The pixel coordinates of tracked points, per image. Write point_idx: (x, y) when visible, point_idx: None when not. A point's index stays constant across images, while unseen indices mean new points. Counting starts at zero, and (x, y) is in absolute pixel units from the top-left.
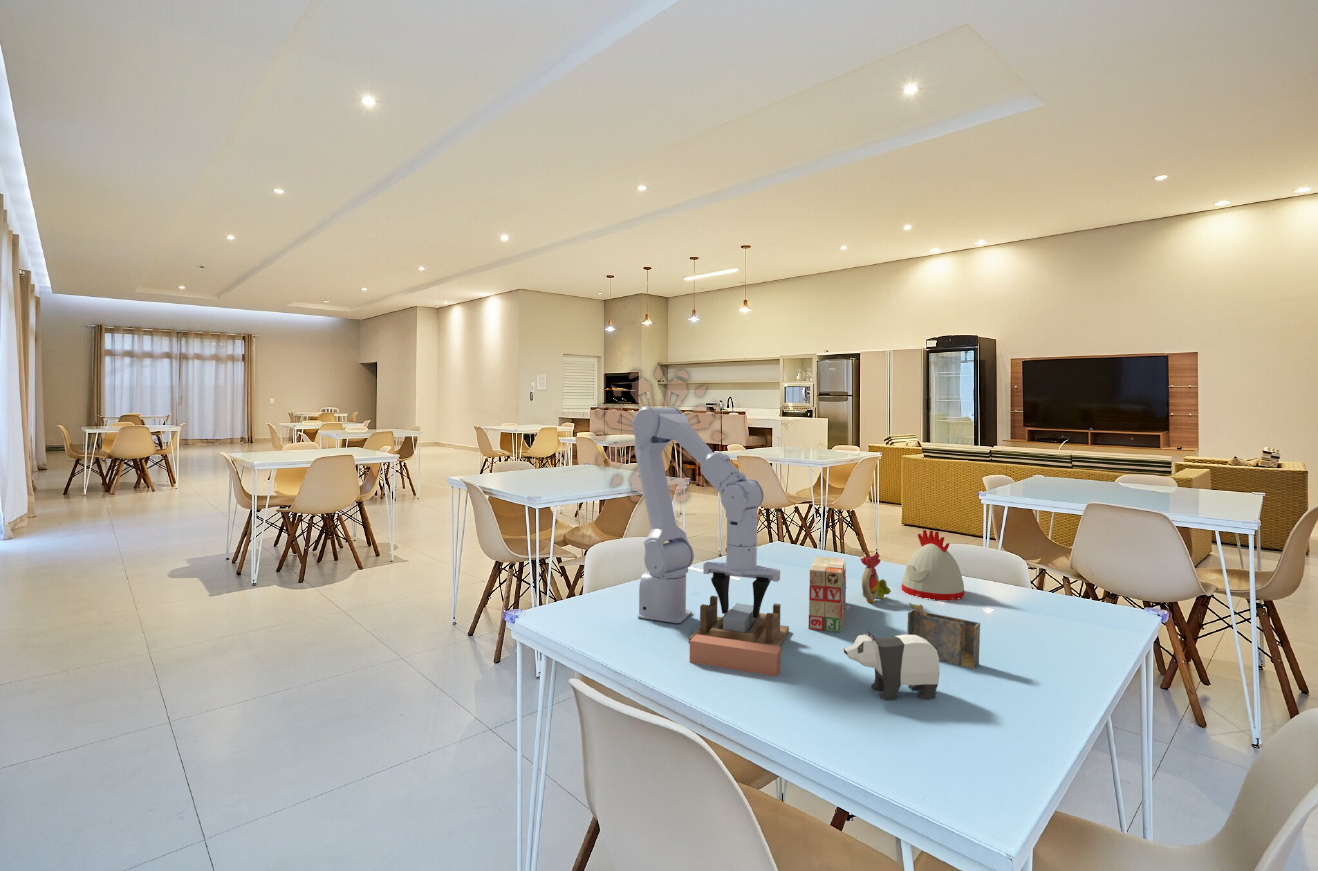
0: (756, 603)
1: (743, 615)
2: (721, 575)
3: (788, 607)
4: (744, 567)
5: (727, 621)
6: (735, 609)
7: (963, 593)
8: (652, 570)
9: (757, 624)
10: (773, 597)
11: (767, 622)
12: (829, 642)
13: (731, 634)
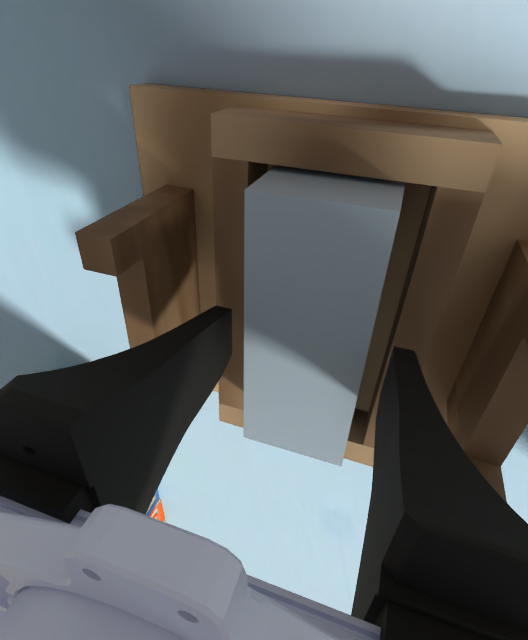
0: (168, 340)
1: (272, 295)
2: (421, 626)
3: (225, 524)
4: (34, 638)
5: (367, 201)
6: (334, 385)
7: None
8: None
9: (229, 300)
10: (277, 582)
11: (130, 219)
12: (46, 293)
13: (342, 124)
